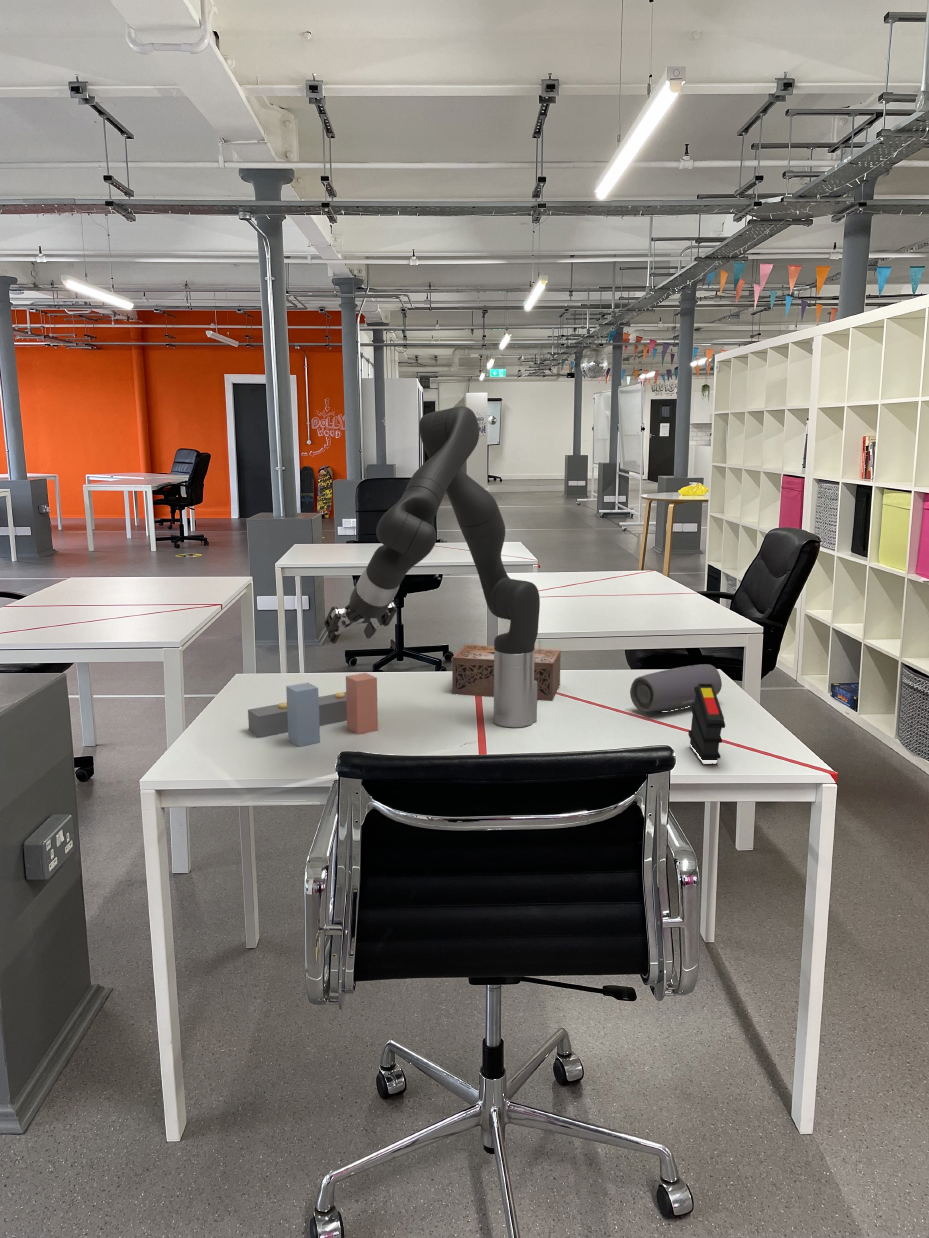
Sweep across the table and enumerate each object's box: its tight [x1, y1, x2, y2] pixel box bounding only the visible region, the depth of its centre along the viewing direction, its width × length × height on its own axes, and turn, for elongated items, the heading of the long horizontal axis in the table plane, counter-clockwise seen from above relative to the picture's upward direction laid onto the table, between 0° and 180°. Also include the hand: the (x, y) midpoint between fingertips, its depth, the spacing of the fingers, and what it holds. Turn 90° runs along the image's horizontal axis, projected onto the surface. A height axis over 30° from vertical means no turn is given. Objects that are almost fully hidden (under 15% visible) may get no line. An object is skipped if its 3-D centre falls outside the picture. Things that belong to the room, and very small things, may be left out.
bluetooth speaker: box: [629, 663, 723, 712], centre depth 216 cm, size 23×9×10 cm, turn 123°
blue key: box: [285, 682, 321, 748], centre depth 188 cm, size 5×5×12 cm
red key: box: [345, 672, 379, 735], centre depth 196 cm, size 5×5×12 cm
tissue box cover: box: [451, 644, 562, 702], centre depth 231 cm, size 26×14×10 cm, turn 76°
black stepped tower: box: [688, 683, 726, 761], centre depth 183 cm, size 4×13×15 cm, turn 0°
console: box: [247, 691, 347, 739], centre depth 196 cm, size 28×19×7 cm
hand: (349, 637), depth 182 cm, fingers open, 7 cm apart
